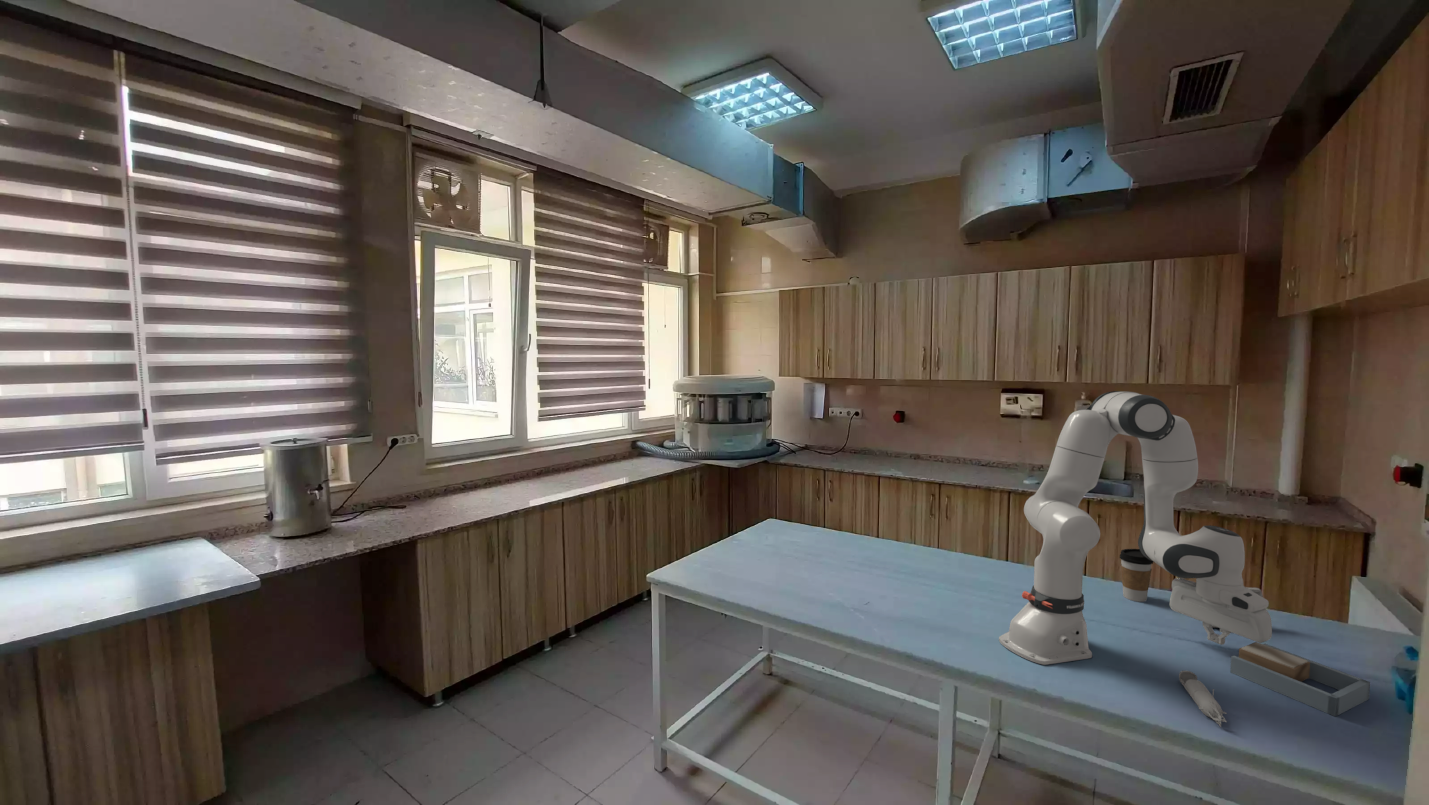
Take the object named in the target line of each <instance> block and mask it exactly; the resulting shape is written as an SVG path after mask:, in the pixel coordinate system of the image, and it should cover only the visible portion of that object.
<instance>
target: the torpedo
mask: <svg viewBox="0 0 1429 805" xmlns="http://www.w3.org/2000/svg"><path fill="white" fill-rule="evenodd" d="M1178 678H1179V682H1180V683H1181V685H1182V686H1183V687H1184V689H1185V690H1186V692H1187V693H1188V694H1189V696H1190V697H1191V699H1192V700H1193V701H1194V704H1196V706H1197V707H1198V710H1200V711H1201V713H1203V715H1205V716H1206V717H1208V718H1210V719H1212V720H1213V721H1215V723H1216V724H1218V725H1219V727H1220V728H1222V723H1227V722H1228V721H1227V720H1226V718H1225V717H1224V716H1223V714H1224V715H1228V713H1227V712H1225V711H1223V709H1222V706H1221V705H1220V704H1219V702H1218V700H1216V699H1215V697H1214V694H1215V693H1214V691H1215V689H1212V693H1211V692H1210V691H1209V689H1208V688H1207V687H1206V686H1205V684H1204V683H1203V682H1202V681H1200V680H1198V676H1197V674H1195V673H1194V672H1192V671H1190V670H1186V669H1185V670H1181V671H1179V673H1178Z"/></svg>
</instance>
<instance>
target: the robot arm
mask: <svg viewBox="0 0 1429 805" xmlns="http://www.w3.org/2000/svg"><path fill="white" fill-rule="evenodd" d="M1061 429H1062V430H1061V431H1060V434H1059V436H1058V439H1057V442H1056V445H1055V449H1054V452H1053V454H1052V459H1051V462H1050V464H1049V468H1048V471H1047V473H1046V475H1045V477H1044V479H1043V481H1042V483H1041V484H1040V486H1039V488H1038V489H1037V490H1036V492H1035V493H1034V494H1033V495H1031V496H1030V497H1029V498H1028V499H1026V501H1025V503H1024V507H1023V513H1024V516H1025V517H1026V519H1027V521H1028V523H1029V524H1030V526H1031V527H1032V528H1033V529H1035V530H1036V531H1037V532H1038V533H1040V534H1041V535H1042V539H1043V541H1042V542H1043V543H1042V546H1041V550H1040V553H1039V554H1038V555H1037V556H1036V557H1035V558H1034V562H1033V563H1034V568H1033V569H1034V571H1033V585H1032V587H1031V590H1030V592H1028V591H1026V590H1024V591H1022V594H1021V597H1022V598H1023V599H1025V600H1028V602H1027V603H1026V604H1025V605H1024V606H1023V607H1022V609H1020V611H1019V612H1018V613H1017V614H1016V615H1014V617H1013V618H1012V619H1011V620H1010V623H1009V628H1008V631H1007V632H1005V633H1003V634H1001V635H1000V636H999V637H998V641H999V643H1000V644H1001V645H1002V646H1003V647H1005V648H1006V649H1008V650H1009V651H1010V652H1012V653H1013V654H1015V655H1017V656H1019V657H1022V658H1023V659H1026V660H1028V661H1030V662H1033V663H1036V664H1039V665H1043V666H1045V665H1053V664H1059V663H1060V664H1061V663H1067V662H1072V661H1079V660H1087V659H1091V658H1092V657H1093V653H1092V651H1091V649H1090V648H1089V637H1088V628H1087V622H1086V619H1085V617H1084V614H1083V610H1085V609H1084V608H1085V607H1084V606H1085V598H1084V596H1085V595H1084V594H1083V579H1084V578H1083V575H1084V566H1085V562H1086V559H1087V556H1088V554H1089V551H1090V550H1092V549H1094V547H1096V545H1098V543H1099V541H1100V538H1101V530H1100V526H1099V525H1098V523H1097V522H1096V521H1095V520H1094V519H1093V517H1091V515H1090V514H1089V513H1088V512H1086V511H1085V510H1084V509H1081V508H1080V507H1079V505H1080V503H1081V502H1082V500H1083V498H1084V497H1085V495H1086V494H1088V493H1089V491H1091V490H1093V489H1094V488H1096V486H1097V485H1098V482H1099V478H1100V476H1101V475H1100V474H1101V472H1102V468H1103V465H1104V461H1105V460H1106V455H1107V451H1108V447H1109V445H1110V443H1111V441H1112V440H1113V439H1114V438H1115V437H1116V436H1117V435H1119V434H1120V435H1123V436H1129V437H1134V438H1137V440H1138V441H1139V444H1140V449H1141V461H1142V463H1141V464H1142V471H1143V472H1142V473H1143V525H1142V527H1141V528H1142V529H1141V531H1140V534H1139V536H1138V538H1137V545H1138V546H1137V547H1138V549H1140V551H1141V553H1142V554H1143V555H1144V556H1145V557H1146V558H1148V559H1149V560H1151V561H1153V563H1155V564H1156V565H1158V566H1159V567H1160V568H1161V569H1164V571H1166V572H1168V573H1169V574H1171V575H1172V576H1175V577H1176V578H1174V579H1173V580H1172V581H1171V589H1172V590H1171V594H1170V598H1169V607H1170V609H1171V611H1174V612H1176V613H1178V614H1182V615H1184V616H1187V617H1190V618H1192V619H1195V620H1197V621H1199V622H1202V627H1203V628H1204V630H1205V632H1206V634H1207V640H1208V641H1210V642H1212V643H1213V642H1214V643H1216V644H1218V645H1221V646H1222V645H1225V644H1226V638H1227V637H1228V636H1229V635H1230V634H1231V633H1232V634H1235V635H1238V636H1240V637H1243V638H1246V639H1248V640H1251V641H1254V642H1257V643H1260V644H1263V643H1265V642H1267V641H1270V640H1271V638H1272V635H1273V626H1272V625H1273V624H1272V618H1271V614H1270V613H1269V612H1268V611H1267V608H1269V604H1270V603H1269V600H1268V599H1266V598H1265V597H1264V596H1263V597H1261V596H1260V595H1258V594H1256V593H1254V592H1253V591H1251V590H1249V589H1248V588H1249V587H1247V586H1245V585H1244V579H1243V575H1242V574H1243V570H1244V569H1245V561H1246V560H1245V559H1246V558H1245V557H1246V556H1245V555H1246V552H1245V551H1246V550H1245V545H1244V539H1243V538H1242V537H1241V536H1240V535H1239V534H1238V533H1236V532H1234V531H1233V530H1230V529H1227V528H1225V527H1221V526H1217V525H1203V526H1202V527H1201V528H1199V530H1196V531H1194V532H1192V533H1189V534H1185V535H1181V534H1180V533H1179V531H1177V529H1176V528H1175V523H1174V521H1175V520H1174V500H1175V497H1176V494H1178V493H1180V492H1184V491H1186V490H1188V489H1190V488H1191V487H1193V486H1194V485H1195V483H1196V482H1197V480H1198V475H1199V459H1198V453H1197V452H1198V451H1197V446H1196V442H1195V437H1194V434H1193V431H1192V428H1191V425H1190V423H1189V422H1188V421H1187V420H1186V419H1185V418H1183V417H1181V416H1178V415H1175V414H1172V412H1171V410H1170V408H1169V407H1168V405H1167V404H1165V402H1163V401H1162V400H1161V399H1159V398H1157V397H1155V396H1152V395H1148V394H1141V393H1139V392H1135V391H1120V390H1119V391H1118V390H1113V391H1107V392H1104V393H1102V394H1100V395H1099V396H1098V397H1096V398H1095V399H1094V400H1093V401H1092V403H1091V404H1089V406H1088V407H1087V408H1086V409H1079V410H1075V411H1073V412H1072V413H1070V414H1069V416H1068V417H1067V419H1066V420H1065V422H1064V425H1063V427H1062V428H1061ZM1189 579H1195V580H1196V581H1192V580H1189ZM1246 587H1247V588H1246ZM1265 608H1266V610H1265ZM1212 626H1216V627H1219V628H1218V629H1219V632H1220V633H1221V634H1218V633H1215V630H1214V629H1213V628H1212Z"/></svg>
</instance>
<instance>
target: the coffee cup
mask: <svg viewBox="0 0 1429 805" xmlns="http://www.w3.org/2000/svg"><path fill="white" fill-rule="evenodd" d="M1119 559H1120V560H1121V561H1120V562H1121V563H1120V570H1121V582H1122V583H1121V585H1122V593H1123V594H1122V596H1123V597H1124V598H1125V599H1127V600H1130V601H1133V602H1138V603H1143V602H1147V599H1148V594H1149V588H1150V580H1151V574H1152V565H1153V563H1154V562H1153V561H1151V560H1149V559H1148V558H1146V557H1145V556H1144V555H1143V554H1142V553H1141V551H1140V549H1139V548H1123V549H1122V550H1121V551H1120V554H1119Z"/></svg>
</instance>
